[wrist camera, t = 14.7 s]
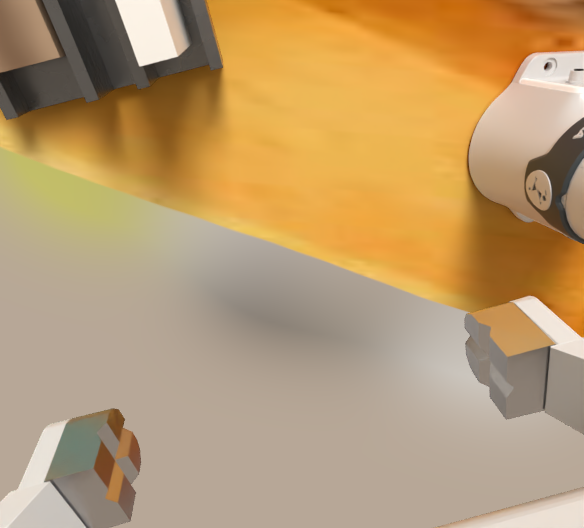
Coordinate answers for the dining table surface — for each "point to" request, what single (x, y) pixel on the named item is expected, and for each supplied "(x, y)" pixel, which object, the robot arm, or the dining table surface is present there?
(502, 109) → the robot arm
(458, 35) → the dining table surface
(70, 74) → the rack
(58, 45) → the offcut upper
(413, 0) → the dining table surface
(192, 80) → the dining table surface
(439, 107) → the dining table surface
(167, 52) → the tall sheet
